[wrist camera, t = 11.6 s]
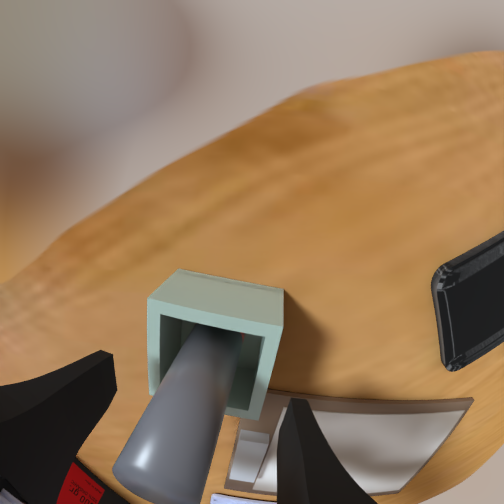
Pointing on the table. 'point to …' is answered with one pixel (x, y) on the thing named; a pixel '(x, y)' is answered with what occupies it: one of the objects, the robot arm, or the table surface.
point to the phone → (470, 303)
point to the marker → (182, 421)
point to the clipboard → (349, 439)
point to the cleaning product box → (86, 488)
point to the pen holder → (222, 316)
